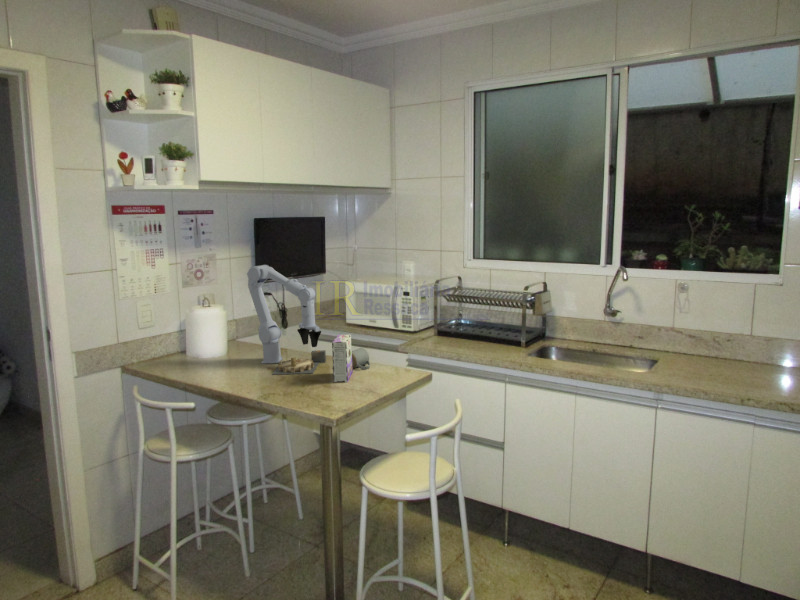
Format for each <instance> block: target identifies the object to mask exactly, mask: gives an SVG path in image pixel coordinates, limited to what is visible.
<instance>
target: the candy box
mask: <svg viewBox="0 0 800 600" xmlns="http://www.w3.org/2000/svg"><path fill="white" fill-rule="evenodd" d="M331 345H332V346H331V347H332V349H331V350H332V372H333V373H332V374H333V382H334V383H349V381H350V378H351V377H352V374H353V373H354V372H353V371H354V370H353V369H354V368H352V351H353V350H352V335H351V334H337V335H336V337H334V339H333V340H332V342H331Z"/></svg>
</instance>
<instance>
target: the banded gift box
mask: <svg viewBox="0 0 800 600" xmlns="http://www.w3.org/2000/svg"><path fill="white" fill-rule="evenodd" d="M310 352H311V353H310V355H311V360H312V361H313V362H314V363H317V362H319V364H324V363H326V362H327V355H326V354H327V353H326V350H321V349H320V350H311V351H310Z"/></svg>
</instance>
